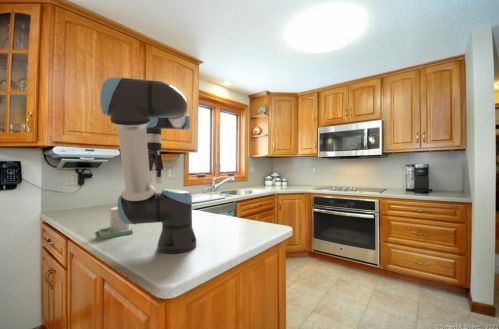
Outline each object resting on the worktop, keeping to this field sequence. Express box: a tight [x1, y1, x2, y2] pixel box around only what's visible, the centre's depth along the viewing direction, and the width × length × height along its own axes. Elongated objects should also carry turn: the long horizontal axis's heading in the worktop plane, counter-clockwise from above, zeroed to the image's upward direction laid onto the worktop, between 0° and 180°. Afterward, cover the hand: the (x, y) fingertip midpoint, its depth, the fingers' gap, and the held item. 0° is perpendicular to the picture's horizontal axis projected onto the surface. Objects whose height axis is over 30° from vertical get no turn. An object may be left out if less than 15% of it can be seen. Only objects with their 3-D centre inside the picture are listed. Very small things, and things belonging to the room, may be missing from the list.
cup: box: [109, 206, 130, 232], centre depth 114 cm, size 8×8×12 cm
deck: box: [97, 225, 133, 240], centre depth 113 cm, size 16×13×3 cm
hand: (153, 183), depth 119 cm, fingers open, 13 cm apart
